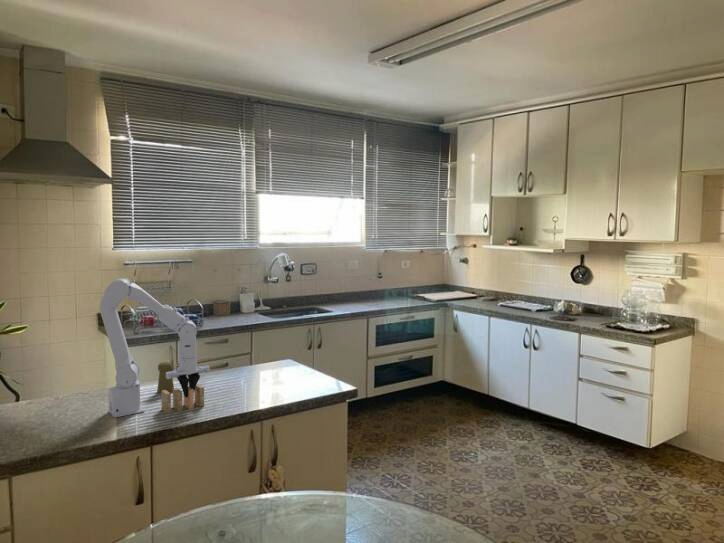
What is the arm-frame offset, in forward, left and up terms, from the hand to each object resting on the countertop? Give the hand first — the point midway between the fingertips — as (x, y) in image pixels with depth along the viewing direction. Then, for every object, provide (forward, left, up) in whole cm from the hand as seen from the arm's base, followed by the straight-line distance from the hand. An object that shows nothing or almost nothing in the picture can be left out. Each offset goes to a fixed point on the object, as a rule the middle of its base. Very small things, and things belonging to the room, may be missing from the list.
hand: (188, 395), depth 186 cm
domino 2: (0, 0, -4) cm, 4 cm away
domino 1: (-8, 0, -4) cm, 9 cm away
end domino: (+4, 0, -4) cm, 5 cm away
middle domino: (-4, 0, -4) cm, 5 cm away
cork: (-1, +21, -4) cm, 21 cm away
